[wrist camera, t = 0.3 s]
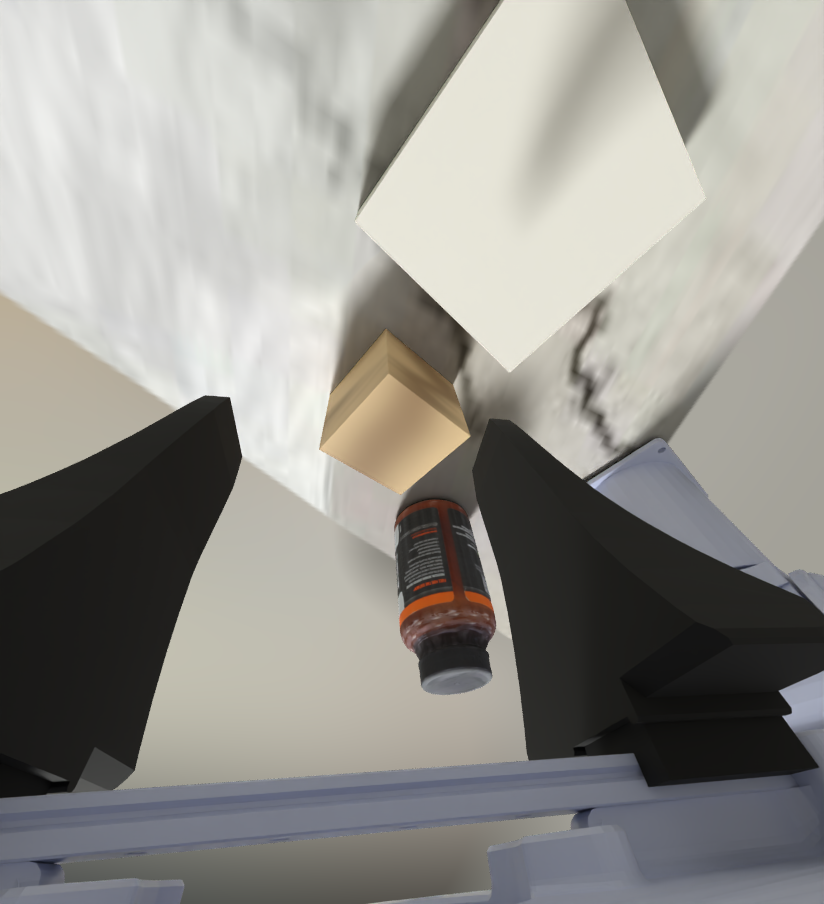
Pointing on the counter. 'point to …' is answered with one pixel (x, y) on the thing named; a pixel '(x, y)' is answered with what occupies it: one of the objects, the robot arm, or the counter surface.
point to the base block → (535, 173)
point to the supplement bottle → (443, 597)
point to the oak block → (393, 416)
